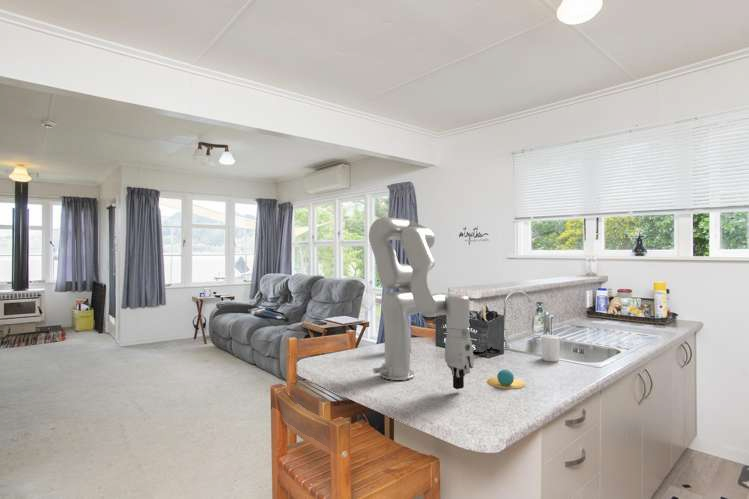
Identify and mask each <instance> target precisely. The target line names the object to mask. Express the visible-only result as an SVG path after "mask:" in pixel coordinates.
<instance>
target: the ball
mask: <svg viewBox="0 0 749 499" xmlns="http://www.w3.org/2000/svg"><path fill="white" fill-rule="evenodd" d="M496 377H497V379H498V381H499V383H500V384H502V385H504V386H509V385H511V384H512V383H513V381H514V378H515V377H514V374H513V373H512V371H510V370H509V369H501V370H499V372H498V373H497V374H496Z"/></svg>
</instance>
